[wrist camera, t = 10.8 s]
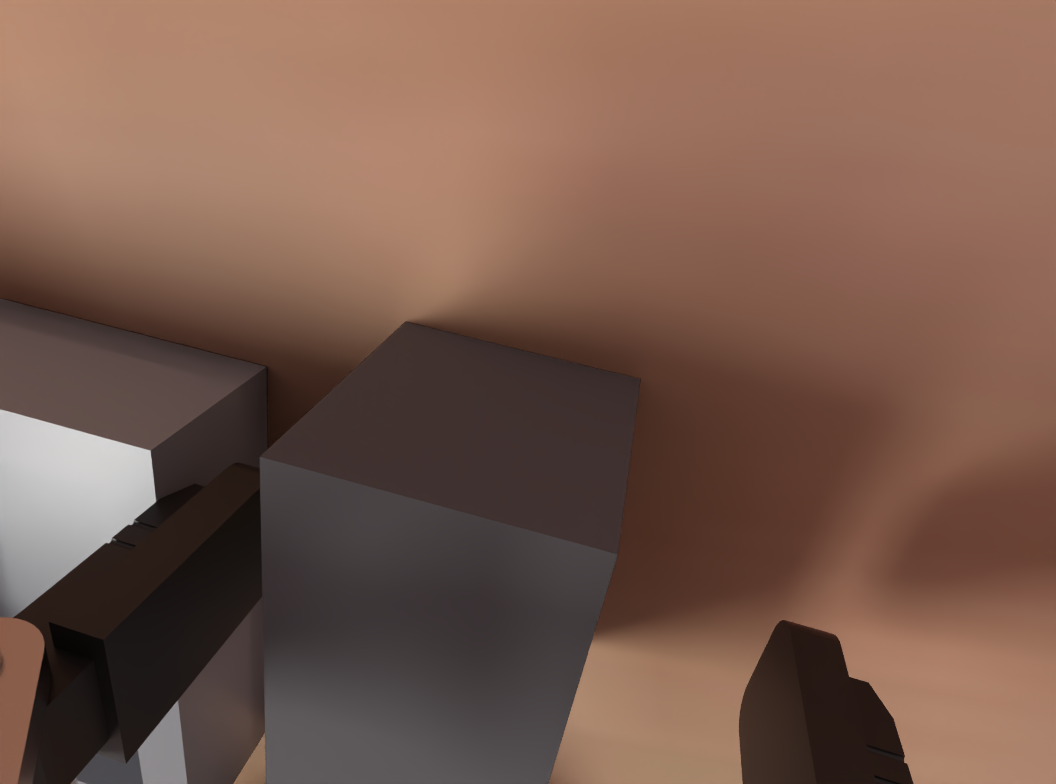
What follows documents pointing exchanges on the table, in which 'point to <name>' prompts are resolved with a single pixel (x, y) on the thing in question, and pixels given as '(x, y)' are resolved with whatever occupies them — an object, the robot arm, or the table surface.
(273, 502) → the block
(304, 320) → the table surface
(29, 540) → the tray
